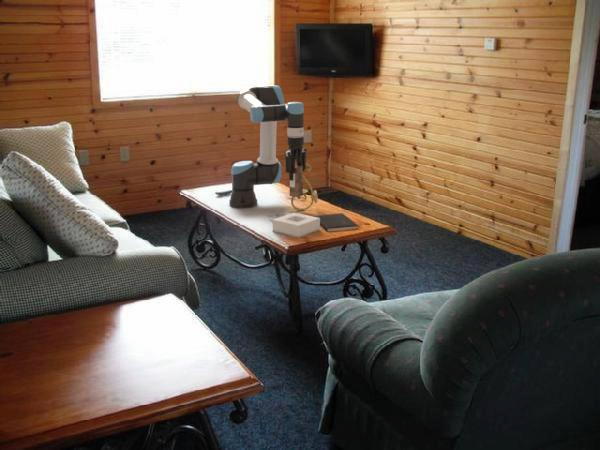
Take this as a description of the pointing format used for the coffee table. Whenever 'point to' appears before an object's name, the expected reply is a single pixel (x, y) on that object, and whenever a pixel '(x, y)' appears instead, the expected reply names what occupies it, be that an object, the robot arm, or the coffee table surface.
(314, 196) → the wall sconce
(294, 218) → the grey well block
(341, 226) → the hardcover book
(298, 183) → the walnut peg
